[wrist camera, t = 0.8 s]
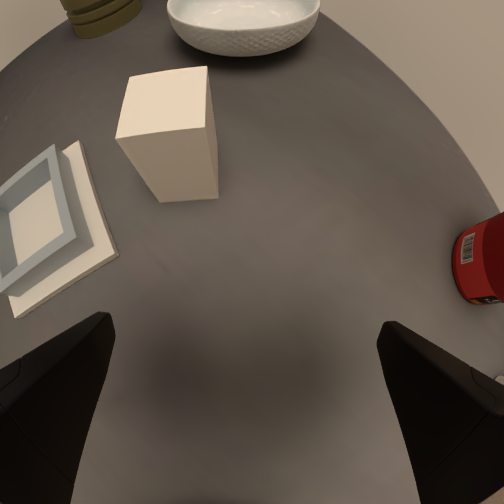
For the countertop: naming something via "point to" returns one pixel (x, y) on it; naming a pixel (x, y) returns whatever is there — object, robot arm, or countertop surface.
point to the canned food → (481, 262)
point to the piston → (99, 15)
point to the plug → (171, 133)
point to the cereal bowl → (242, 24)
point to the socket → (50, 228)
